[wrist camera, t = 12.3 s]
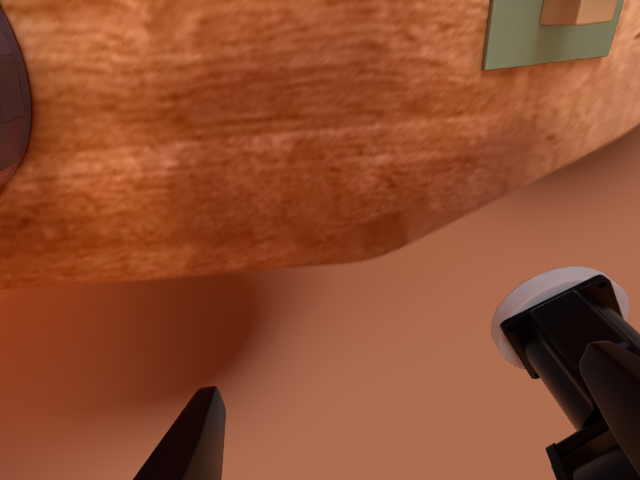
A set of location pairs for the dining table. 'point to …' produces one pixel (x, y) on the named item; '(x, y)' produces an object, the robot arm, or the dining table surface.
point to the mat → (540, 36)
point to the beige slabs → (577, 12)
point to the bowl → (12, 103)
